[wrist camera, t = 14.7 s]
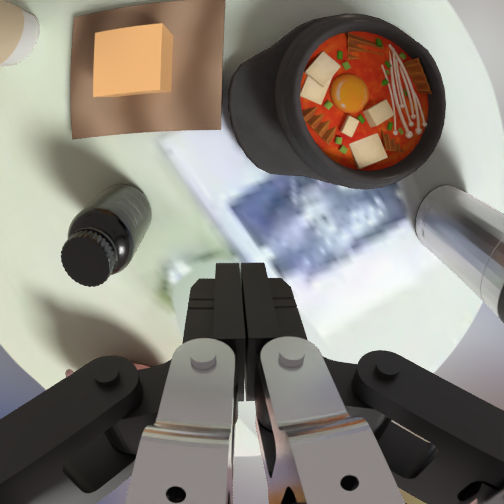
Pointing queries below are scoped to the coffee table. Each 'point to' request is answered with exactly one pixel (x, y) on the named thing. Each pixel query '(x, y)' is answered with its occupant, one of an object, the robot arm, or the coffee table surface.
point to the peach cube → (132, 61)
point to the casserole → (340, 103)
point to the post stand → (183, 71)
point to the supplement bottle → (106, 235)
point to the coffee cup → (16, 33)
